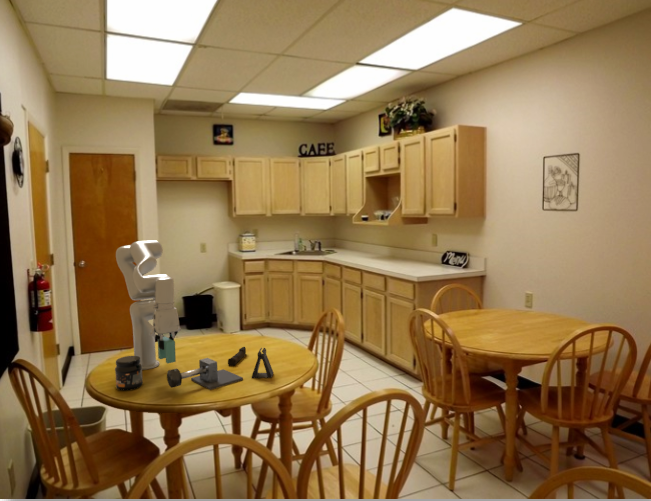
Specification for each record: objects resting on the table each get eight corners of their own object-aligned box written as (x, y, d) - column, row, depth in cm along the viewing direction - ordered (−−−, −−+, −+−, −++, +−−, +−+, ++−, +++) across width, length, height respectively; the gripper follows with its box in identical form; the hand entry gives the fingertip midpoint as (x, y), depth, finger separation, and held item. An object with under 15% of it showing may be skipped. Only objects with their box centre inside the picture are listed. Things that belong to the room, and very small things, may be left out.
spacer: (158, 358, 204) (157, 338, 203) (166, 356, 207) (165, 336, 206) (167, 363, 198) (167, 342, 197) (175, 361, 200) (175, 341, 199)
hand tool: (235, 366, 222) (235, 357, 222) (227, 366, 223) (227, 356, 223) (250, 355, 240) (250, 346, 240) (243, 354, 241) (242, 345, 241)
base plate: (191, 380, 204) (191, 378, 204) (223, 371, 215) (223, 369, 215) (210, 389, 193) (210, 387, 192) (243, 379, 204) (242, 377, 203)
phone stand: (251, 378, 205) (250, 351, 204) (253, 373, 211) (253, 347, 210) (271, 378, 205) (271, 351, 204) (273, 373, 211) (272, 347, 210)
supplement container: (111, 387, 197) (110, 359, 196) (135, 380, 205) (134, 353, 204) (123, 393, 190) (121, 364, 189) (147, 386, 198) (146, 358, 197)
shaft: (167, 385, 192) (166, 368, 191) (208, 373, 205) (208, 358, 204) (175, 389, 187) (174, 372, 186) (217, 377, 200) (216, 361, 199)
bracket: (199, 379, 202) (199, 359, 202) (208, 376, 205) (207, 357, 205) (209, 383, 197) (208, 364, 196) (217, 381, 199) (217, 361, 199)
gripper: (149, 310, 191) (151, 354, 193) (187, 304, 203) (188, 345, 205) (142, 307, 197) (143, 350, 199) (179, 301, 208) (180, 342, 210)
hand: (166, 347), depth 202 cm, fingers closed on spacer, 3 cm apart
